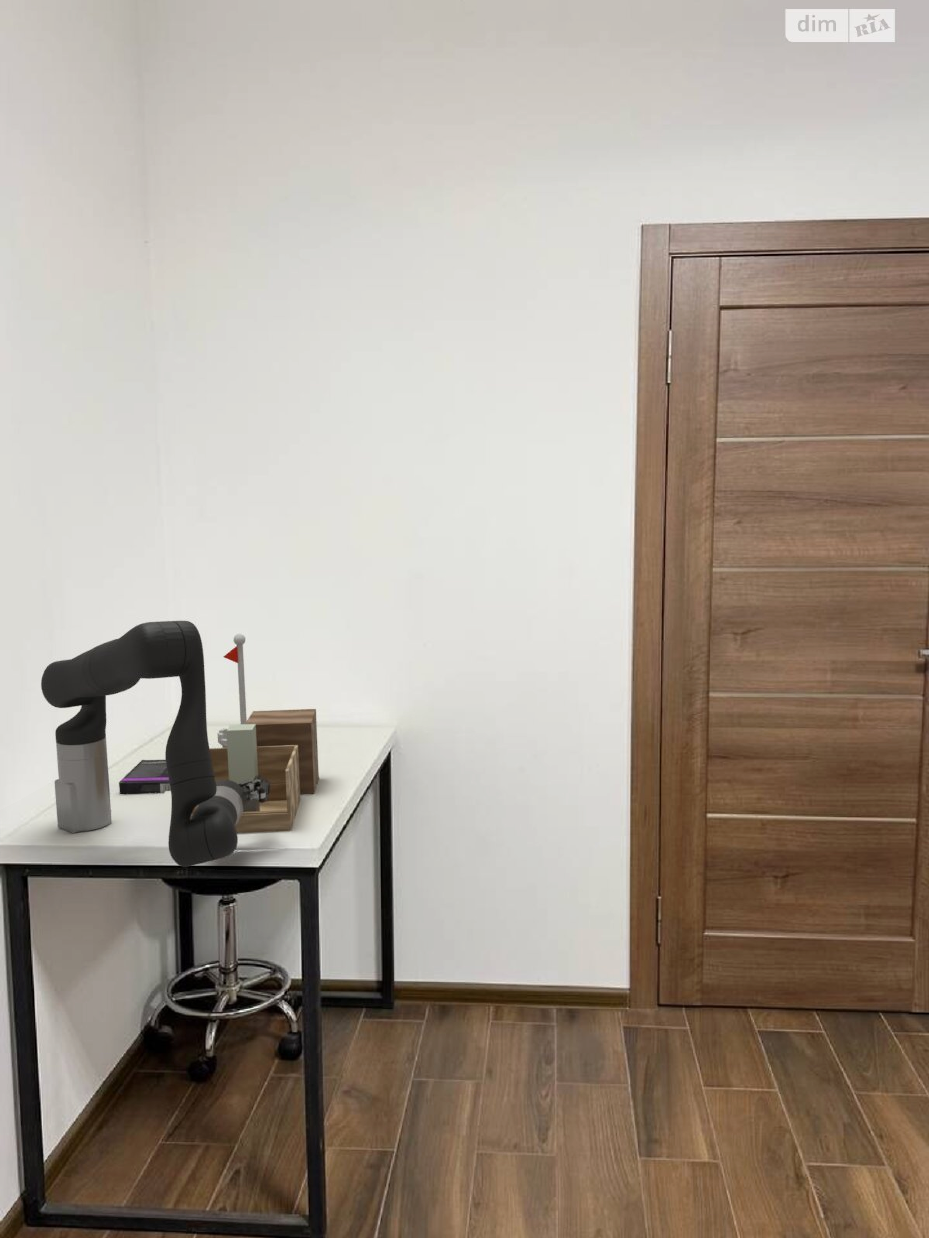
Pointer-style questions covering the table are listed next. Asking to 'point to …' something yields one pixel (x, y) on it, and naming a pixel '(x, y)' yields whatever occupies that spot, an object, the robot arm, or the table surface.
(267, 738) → the riser
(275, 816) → the wooden open bin
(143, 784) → the box
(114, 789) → the table surface
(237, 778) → the box
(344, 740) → the table surface
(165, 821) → the table surface
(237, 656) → the flag stand
